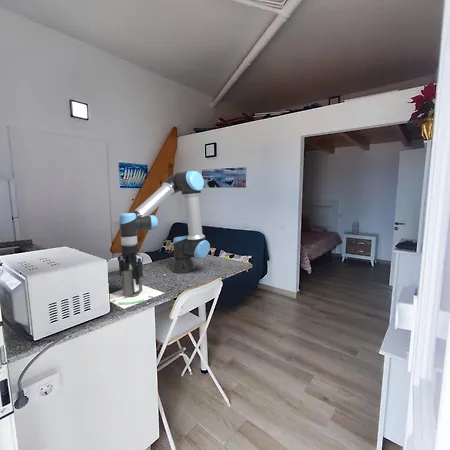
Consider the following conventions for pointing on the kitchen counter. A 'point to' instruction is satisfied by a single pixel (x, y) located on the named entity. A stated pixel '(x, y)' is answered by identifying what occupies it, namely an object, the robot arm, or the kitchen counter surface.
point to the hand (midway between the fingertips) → (132, 290)
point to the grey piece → (129, 284)
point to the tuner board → (130, 301)
